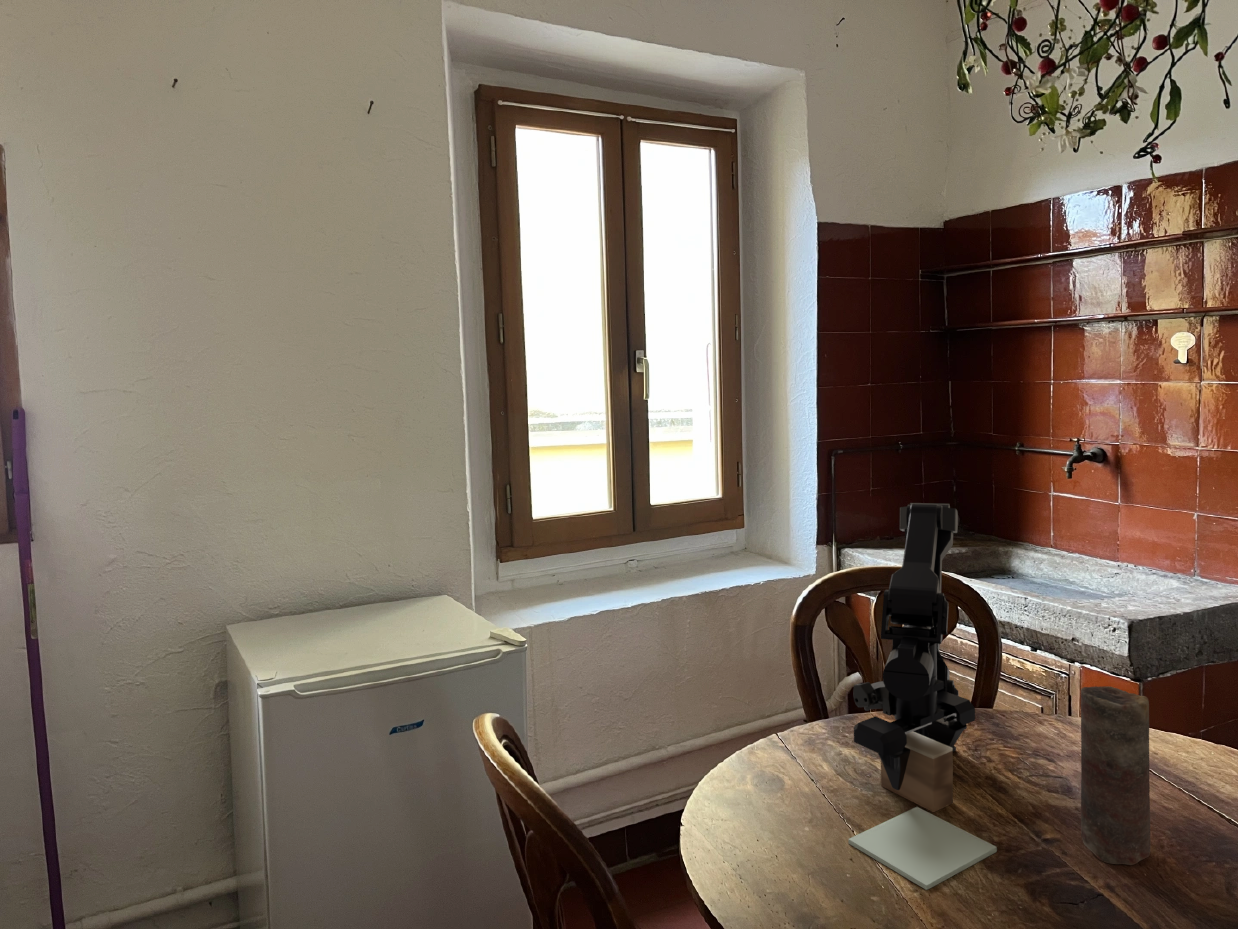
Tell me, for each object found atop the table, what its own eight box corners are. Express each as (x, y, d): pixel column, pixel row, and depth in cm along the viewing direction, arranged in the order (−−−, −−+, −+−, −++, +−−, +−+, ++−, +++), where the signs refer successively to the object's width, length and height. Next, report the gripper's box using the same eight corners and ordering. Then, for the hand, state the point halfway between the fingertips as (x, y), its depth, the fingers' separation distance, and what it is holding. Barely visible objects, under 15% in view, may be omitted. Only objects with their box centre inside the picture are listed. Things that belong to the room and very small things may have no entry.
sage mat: (916, 811, 116) (916, 806, 116) (996, 851, 106) (996, 847, 106) (848, 843, 109) (848, 839, 109) (926, 890, 99) (926, 885, 99)
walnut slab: (900, 778, 125) (899, 725, 124) (952, 803, 118) (952, 748, 117) (881, 786, 123) (880, 733, 122) (933, 812, 115) (933, 756, 114)
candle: (1067, 835, 109) (1068, 683, 106) (1123, 830, 109) (1125, 678, 106) (1104, 870, 101) (1107, 707, 99) (1164, 865, 101) (1168, 702, 99)
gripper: (912, 643, 130) (913, 741, 132) (822, 672, 120) (825, 777, 122) (977, 663, 120) (977, 768, 122) (885, 696, 111) (887, 810, 113)
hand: (916, 780), depth 120 cm, fingers open, 8 cm apart
